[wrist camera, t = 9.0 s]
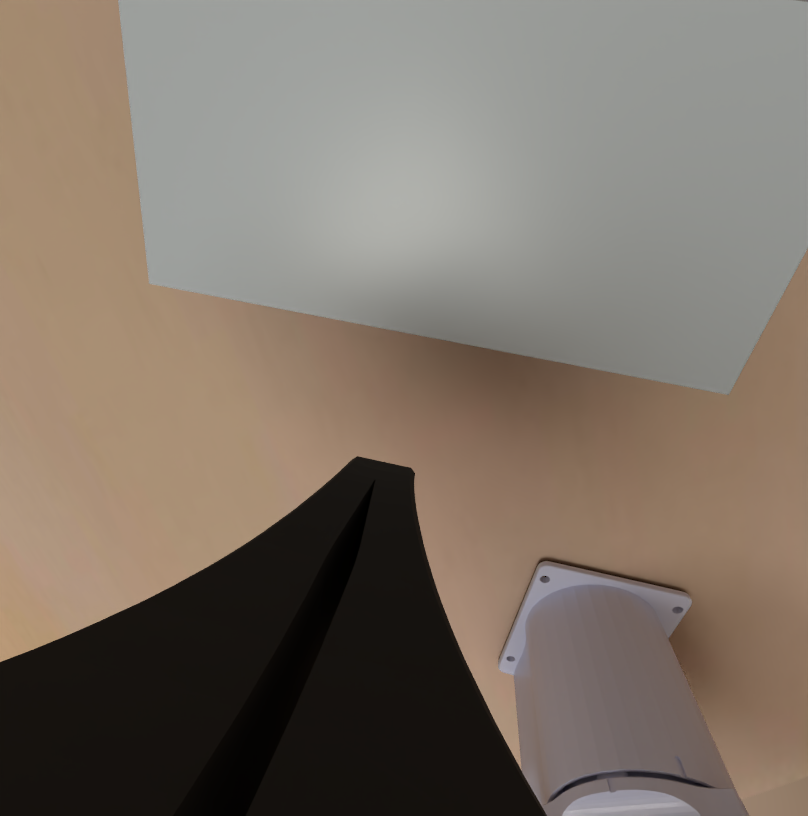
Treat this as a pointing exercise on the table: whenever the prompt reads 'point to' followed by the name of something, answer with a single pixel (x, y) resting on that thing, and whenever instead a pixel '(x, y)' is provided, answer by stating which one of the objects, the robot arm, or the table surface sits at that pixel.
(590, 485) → the table surface
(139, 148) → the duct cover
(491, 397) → the table surface
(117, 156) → the table surface
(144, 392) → the table surface
